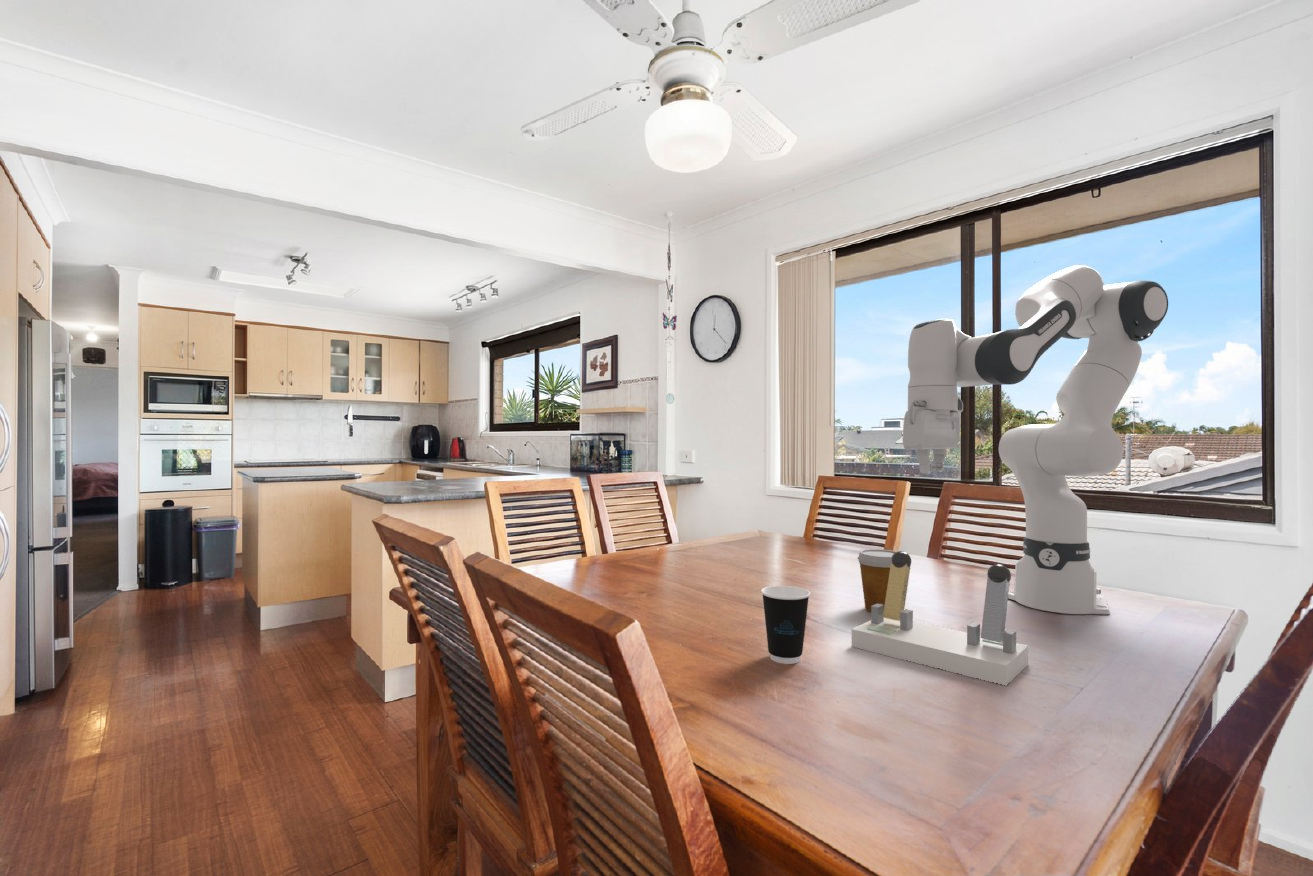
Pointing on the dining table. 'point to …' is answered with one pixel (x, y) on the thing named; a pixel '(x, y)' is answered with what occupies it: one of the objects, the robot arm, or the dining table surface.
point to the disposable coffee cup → (875, 575)
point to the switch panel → (942, 646)
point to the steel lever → (996, 603)
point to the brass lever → (897, 585)
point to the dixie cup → (785, 621)
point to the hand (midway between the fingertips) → (931, 472)
